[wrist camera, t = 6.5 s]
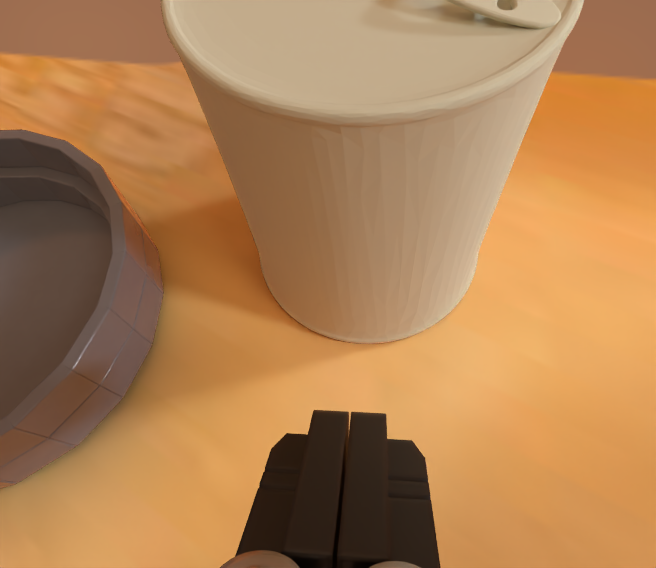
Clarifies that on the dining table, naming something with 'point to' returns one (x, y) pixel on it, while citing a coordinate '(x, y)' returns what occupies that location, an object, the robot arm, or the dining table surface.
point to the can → (368, 141)
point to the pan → (66, 299)
